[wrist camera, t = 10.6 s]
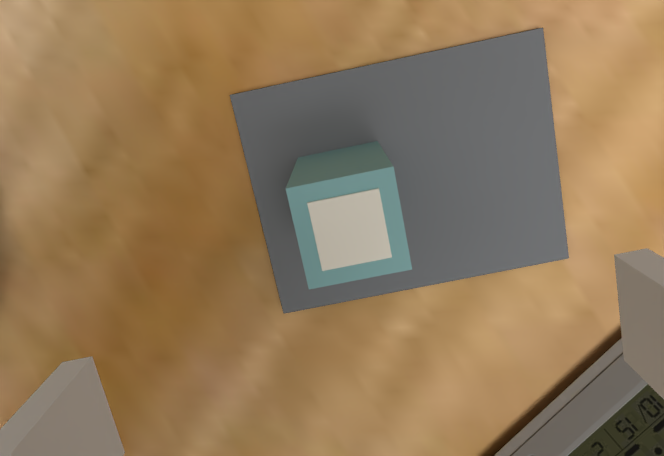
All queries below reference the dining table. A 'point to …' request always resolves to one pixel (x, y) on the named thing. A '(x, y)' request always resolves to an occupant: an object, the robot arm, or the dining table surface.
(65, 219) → the dining table surface
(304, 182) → the block
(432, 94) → the mat
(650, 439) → the digital clock
